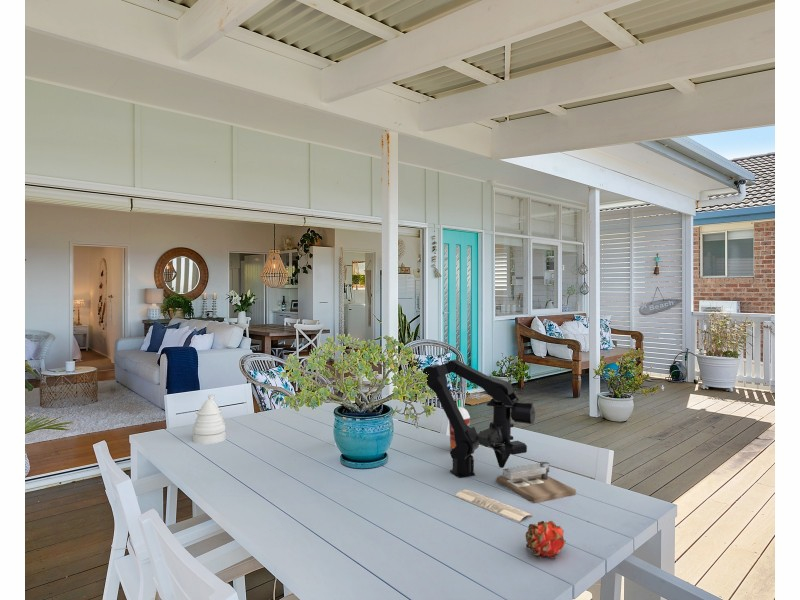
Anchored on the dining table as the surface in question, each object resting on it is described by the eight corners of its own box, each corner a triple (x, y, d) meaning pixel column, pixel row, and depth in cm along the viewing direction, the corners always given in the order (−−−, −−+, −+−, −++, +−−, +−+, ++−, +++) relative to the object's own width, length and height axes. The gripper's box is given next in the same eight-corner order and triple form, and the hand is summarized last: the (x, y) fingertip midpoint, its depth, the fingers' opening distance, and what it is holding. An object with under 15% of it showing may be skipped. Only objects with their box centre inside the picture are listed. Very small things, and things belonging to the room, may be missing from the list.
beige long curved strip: (532, 518, 145) (532, 512, 144) (517, 526, 140) (517, 519, 140) (468, 493, 162) (468, 487, 162) (452, 499, 157) (452, 493, 157)
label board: (534, 503, 153) (534, 490, 153) (496, 481, 171) (496, 470, 170) (575, 494, 160) (576, 482, 160) (535, 474, 177) (535, 463, 177)
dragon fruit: (525, 568, 120) (556, 559, 128) (552, 558, 115) (583, 549, 123) (511, 529, 125) (542, 523, 132) (537, 518, 120) (567, 512, 127)
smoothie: (469, 448, 206) (470, 397, 206) (470, 454, 198) (470, 402, 197) (448, 447, 207) (448, 397, 207) (448, 454, 199) (448, 401, 198)
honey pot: (200, 434, 223) (200, 392, 222) (230, 435, 222) (230, 393, 222) (187, 443, 210) (187, 399, 209) (218, 444, 209) (218, 399, 209)
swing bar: (544, 468, 172) (544, 460, 172) (552, 472, 168) (552, 464, 168) (502, 475, 165) (502, 467, 165) (510, 479, 161) (510, 471, 161)
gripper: (465, 416, 175) (464, 462, 175) (499, 430, 158) (499, 481, 159) (492, 413, 180) (491, 458, 180) (528, 426, 163) (527, 475, 164)
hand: (501, 467), depth 171 cm, fingers closed
